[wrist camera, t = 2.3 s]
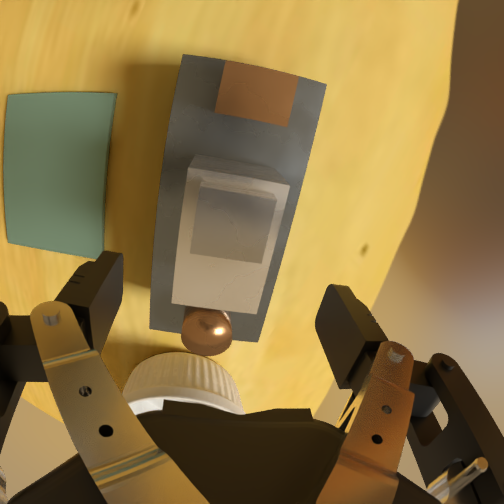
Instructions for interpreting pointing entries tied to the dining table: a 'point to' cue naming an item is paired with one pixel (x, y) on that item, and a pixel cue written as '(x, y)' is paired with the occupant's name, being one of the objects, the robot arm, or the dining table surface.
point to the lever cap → (227, 233)
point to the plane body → (237, 149)
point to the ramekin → (181, 383)
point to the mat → (57, 170)
